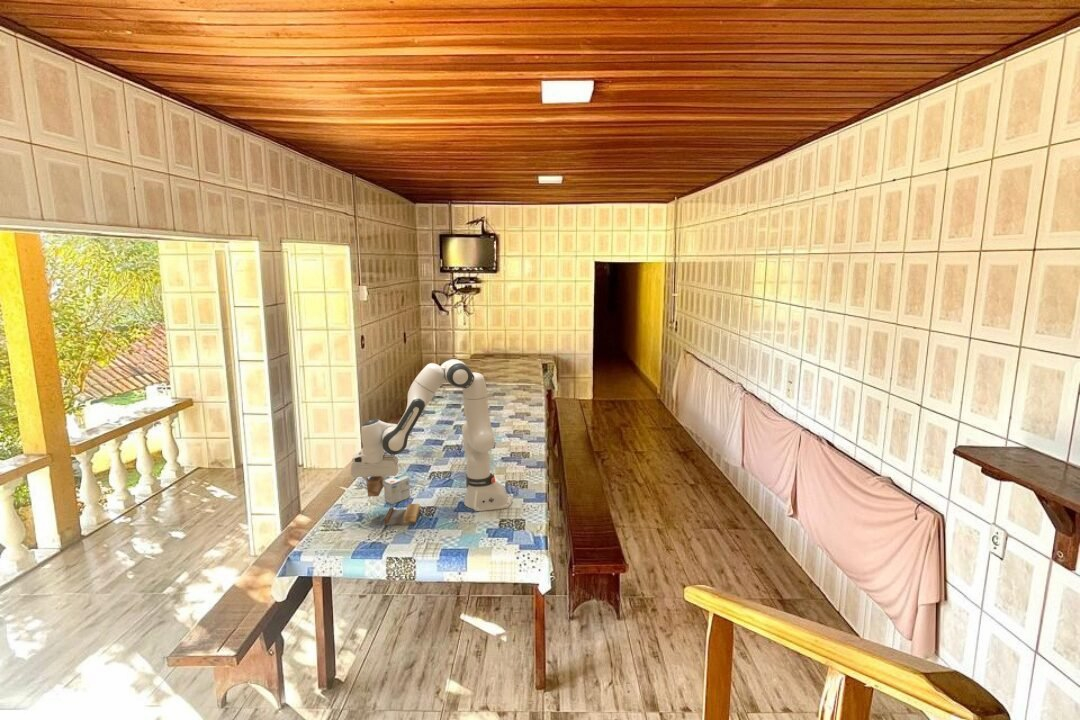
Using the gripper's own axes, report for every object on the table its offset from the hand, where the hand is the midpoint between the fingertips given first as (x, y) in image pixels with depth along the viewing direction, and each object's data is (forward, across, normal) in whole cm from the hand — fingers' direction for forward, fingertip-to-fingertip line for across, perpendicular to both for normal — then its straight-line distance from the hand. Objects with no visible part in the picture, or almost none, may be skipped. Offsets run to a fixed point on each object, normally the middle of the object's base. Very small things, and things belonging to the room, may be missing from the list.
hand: (376, 484), depth 247 cm
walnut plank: (+3, 0, 0) cm, 3 cm away
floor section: (+16, -11, 0) cm, 20 cm away
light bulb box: (+17, -4, -20) cm, 26 cm away
